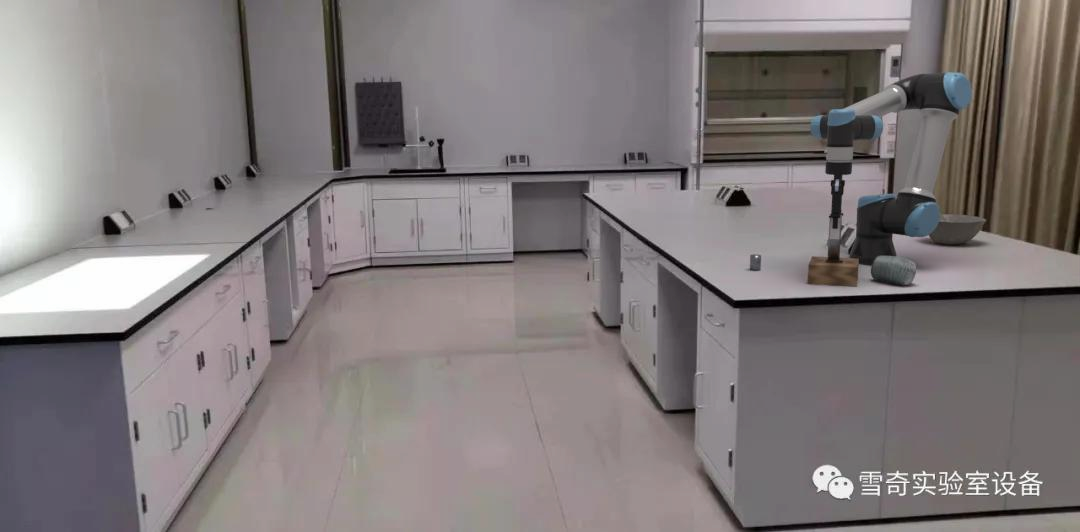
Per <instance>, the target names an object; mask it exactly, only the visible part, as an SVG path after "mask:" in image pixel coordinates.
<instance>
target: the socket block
mask: <svg viewBox="0 0 1080 532" xmlns="http://www.w3.org/2000/svg"><path fill="white" fill-rule="evenodd" d="M859 264H860V263H859V259H856V258H849V257H840V260H838V261H831V260H828V256H811V258H810V260H809V263H808V265H807V266H808V269H807V284H808V285H820V284H821V286H822V285H823V286H836V287H837V286H840V287H858V286H857V285H858V282H859V281H858V279H859V278H858V277H859V266H860V265H859Z"/></svg>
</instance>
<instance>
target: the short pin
mask: <svg viewBox="0 0 1080 532" xmlns="http://www.w3.org/2000/svg"><path fill="white" fill-rule="evenodd" d="M749 270H750V271H751V272H760V271H762V254H757V253H753V254H750V255H749Z"/></svg>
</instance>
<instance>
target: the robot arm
mask: <svg viewBox="0 0 1080 532" xmlns="http://www.w3.org/2000/svg"><path fill="white" fill-rule="evenodd" d="M972 95H973V89H972V84H971V82H970V80H969V78H968V76H966V75H965V74H964V73H962V72H951V71H947V72H937V73H936V72H935V73H934V72H932V73H918V74H913V75H911V76H907V77H905V78H902V79H900V80H897V81H896V82H893V83H891V84H889V85H887V86H885V87H884V88H883V90H882V91H880V92H878V93H876V94H874V95H871V96H869V97H867V98H864V99H862V100H860V101H858V102H855V103H853V104H852V105H849V106H846V107H844V108H842V109H841V108H840V109H836V108H835V109H834V108H833V109H830V110H829V112H828V114H827V115H825V114H822V115H816V116H814V117H813V118H812V120H811V121H810V125H809V130H810V134H811V136H813V138H815V139H819V140H826V149H824V151H823V153H824V154H826V156H825V160H826V162H825V168H824V169H825V171H824V172H825V174H826V175H833V179H831V180H830V187H831V188H830V189H831V190H830V195H831V210H830V214H831V216H830V215H828V219H830V218H831V225H830V239H839V235H840V214H842V217H843V216H844V212H843V211H842V203H843V201H842V200H843V195H844V189H845V185H846V180H844V179H843V176H848V175H852V172H853V170H852V169H853V163H852V160H853V158H854V141H872V140H876V139H878V138H879V137H881V135H882V134H883V131H884V122H883V120H882V119H881V118H882V117H884V116H887V115H888V114H890V113H894V114H895V113H901V112H902V111H907V110H919V113H920V115H921V116H922V119H921V124H920V127H919V132H918V135H917V139H916V141H915V142H916V143H915V146H914V150H913V154H912V158H911V161H910V165H909V169H908V173H907V178H906V181H905V184H904V185H905V186H904V188H902V189H901V190H899V191H898V192H897V196H896V194H894V193H884V194H882V193H881V194H871V195H868V194H867V195H863V196H860V197H859V198H858V200H857V207H856V227H855V230H856V231H855V232H856V233H855V240H854V243H853V244H852V247H851V250H850V251H849V257H848V258H856V259H859V264H862V265H870V266H872V263H873V261H874V260H875V258H876V257H878V256H896V257H898V255H897V252H896V247H895V246H894V245H895V244H894V240H893V236H894V235H899V236H906V237H910V238H924V237H929V234H930V233H932V232H933V231H934V230H935V228H936V227H937V225H938V222H939V219H940V214H941V212H940V210H941V209H940V207H939V205H938V204H937V203H936V201H937V198H936V196H935V195H934V194H933V192H934V188H935V185H936V181H937V179H938V174H939V171H940V170H939V169H940V166H941V163H942V162H941V161H942V159H943V155H944V154H943V153H944V151H945V147H946V144H947V139H948V135H949V131H950V128H951V124H952V122H953V121H954V120H957V118H958V117H959V114H960V111H962V110H964V109H966V108H967V107H969V105H970V103H971V102H972Z"/></svg>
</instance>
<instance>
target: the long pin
mask: <svg viewBox="0 0 1080 532" xmlns="http://www.w3.org/2000/svg"><path fill="white" fill-rule="evenodd" d="M829 216H831V213H829ZM842 220H843V216H842V214H840V235H839V239H830V225H831V218H829V221H828V222H829V225H828V226H829V227H828V240H827V241H828V242H827V243H828V244H827V257H828V260H831V261H838V260H840V258H841V239H842V237H841V236H842V222H843V221H842Z"/></svg>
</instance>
